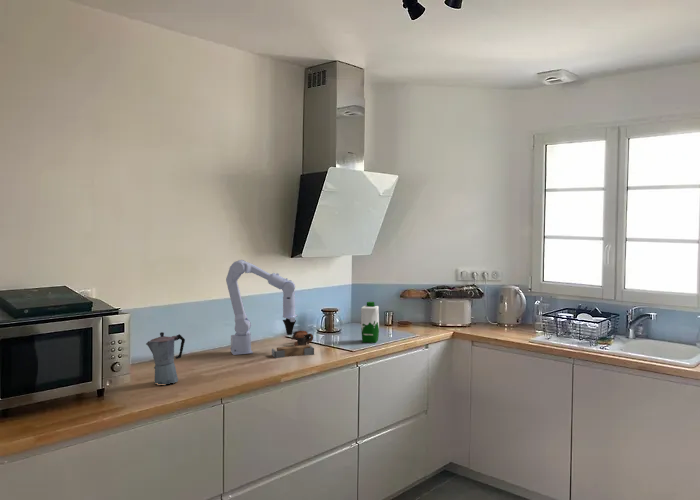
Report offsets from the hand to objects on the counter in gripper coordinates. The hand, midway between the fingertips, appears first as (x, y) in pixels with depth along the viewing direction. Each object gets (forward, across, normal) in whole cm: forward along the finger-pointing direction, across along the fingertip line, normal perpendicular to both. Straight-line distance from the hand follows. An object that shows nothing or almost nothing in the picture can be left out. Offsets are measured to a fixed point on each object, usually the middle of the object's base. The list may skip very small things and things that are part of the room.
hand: (289, 334), depth 273 cm
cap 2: (+8, -6, -7) cm, 13 cm away
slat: (+9, -7, 0) cm, 11 cm away
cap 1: (+8, -6, +7) cm, 13 cm away
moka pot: (+9, -33, +57) cm, 66 cm away
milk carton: (+8, +7, -44) cm, 45 cm away
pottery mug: (+9, +13, -10) cm, 18 cm away
